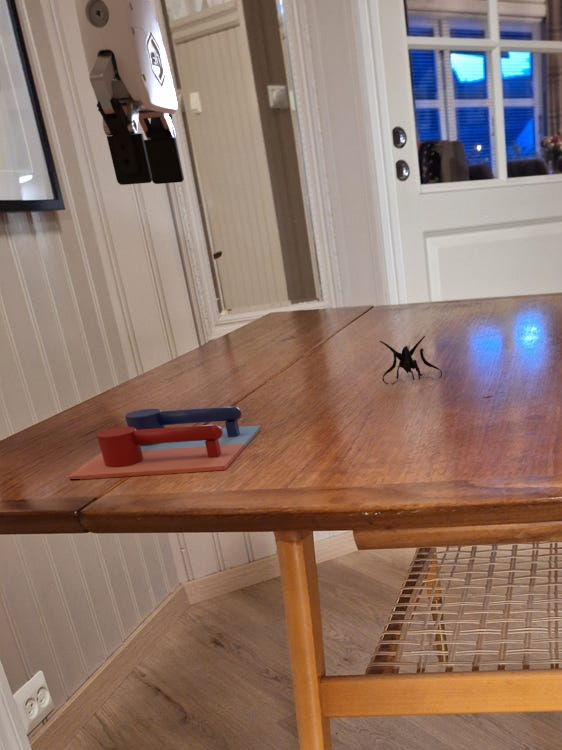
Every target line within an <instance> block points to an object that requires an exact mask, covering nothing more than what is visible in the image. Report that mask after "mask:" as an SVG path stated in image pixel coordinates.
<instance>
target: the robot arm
mask: <svg viewBox="0 0 562 750" xmlns="http://www.w3.org/2000/svg"><path fill="white" fill-rule="evenodd" d="M74 4H75V9H76V15H77V21H78V27H79V32H80V37H81V42H82V47H83V53H84V58H85V63H86V66H87V70H88V75H89V76H88V77H89V82H90V85H91V88H92V89H93V93H94V96H95V99H96V103H97V104H96V108H98V109H97V111H98V112H99V114H100V116H101V117H102V127H103V128H102V129H103V131H104V134H105V135H106V141H107V145H108V149H109V152H110V157H111V160H112V166H113V169H114V175H115V179H116V182H117V183H118V184H119V185H120V186H128V185H138V184H150V183H153V184H155V185H160V184H175V183H182V182H184V180H185V177H184V173H183V168H182V167H183V166H182V163H181V162H182V161H181V158H180V153H179V147H178V144H177V143H178V142H177V137H176V130H175V127H174V125H173V123H172V119H173V115H175V114H176V112H177V111H178V107H179V103H178V100H177V95H176V90H175V86H174V82H173V77H172V73H171V68H170V64H169V60H168V56H167V53H166V48H165V44H164V40H163V36H162V32H161V28H160V25H159V21H158V18H157V15H156V11H155V8H154V4H153V2H152V0H74ZM149 119H150V120H149ZM139 124H140V127H141V128H142V131H143V133H144V134H143V133H141V132H140V133H138V132H139ZM144 136H145V137H146V139H145V138H144Z"/></svg>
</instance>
